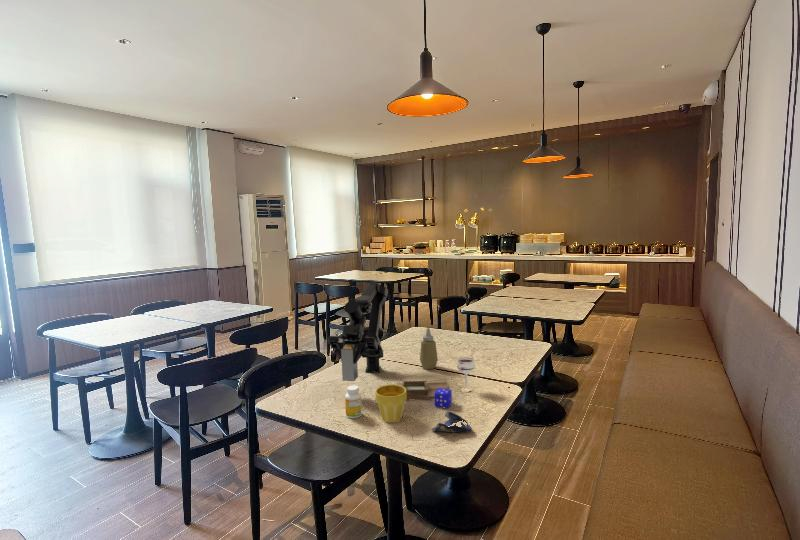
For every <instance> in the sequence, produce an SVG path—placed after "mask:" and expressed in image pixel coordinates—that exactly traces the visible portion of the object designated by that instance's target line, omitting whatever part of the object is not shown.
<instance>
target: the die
mask: <svg viewBox="0 0 800 540" xmlns="http://www.w3.org/2000/svg"><path fill="white" fill-rule="evenodd" d="M434 397H435V399H434V407H435V406H436V407H435V408H441V407H445V408H444V409H449V408H450V407H451V405H450V404H452V403H451V402H453V401H452V400H453V399H452V397H453V396H452V389H449V388H448V389H440V388H438V389H437V391H436V392H435V393H434ZM449 406H450V407H449Z"/></svg>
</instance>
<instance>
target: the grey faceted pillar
mask: <svg viewBox="0 0 800 540" xmlns="http://www.w3.org/2000/svg"><path fill="white" fill-rule="evenodd" d="M356 352H357V345H345V346H344V347H343V348H342V349H341V353H340V358H341V357H342V362H341V376H342V377H341V379H342V382H343V381H344V382H355V381H356V380H357V379H358V378H359V372H358V371H359V370H358V362H357V363H356V364H354V359H355V355H356Z"/></svg>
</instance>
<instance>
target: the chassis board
mask: <svg viewBox="0 0 800 540" xmlns="http://www.w3.org/2000/svg"><path fill="white" fill-rule="evenodd" d="M396 385H400V386H403V387H405V388H406V391H407V399H406V401H410V400H409V399H415V400H435V397H434V393H435V392H436V391H437V389H438V388H440V389H449V387H448V383H447V382H446V381H443V382H442V381H441V382H439V381H438V382H436V381H435V382H427V380H402V381H401V382H397V383H396Z"/></svg>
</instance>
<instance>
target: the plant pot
mask: <svg viewBox="0 0 800 540" xmlns="http://www.w3.org/2000/svg"><path fill="white" fill-rule="evenodd" d="M374 397H375V402H376V403H377V405H378V408H379V412H380V416H381V417H380V418H381V420H382V421H383V422H385V423H397V422H400V421H401V420H402V418H403V413H404V407H405V403H406V401H407V400H406V399H407V391H406V388H405V387H403V386H400V385H397V384H385V385H381V386H379V387H377V388H376V389H375V391H374Z"/></svg>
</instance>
